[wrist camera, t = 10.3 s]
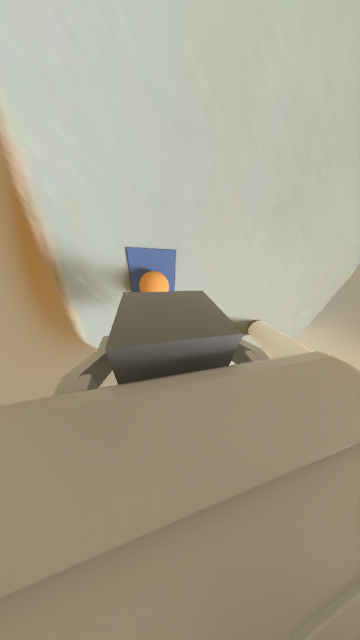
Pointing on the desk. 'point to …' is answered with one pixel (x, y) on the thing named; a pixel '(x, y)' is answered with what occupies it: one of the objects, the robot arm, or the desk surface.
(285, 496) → the robot arm
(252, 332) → the white cup
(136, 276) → the tape mark
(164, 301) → the block
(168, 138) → the desk surface
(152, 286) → the orange egg
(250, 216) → the desk surface
